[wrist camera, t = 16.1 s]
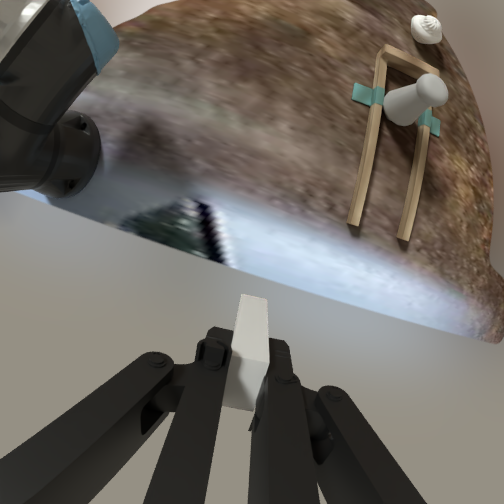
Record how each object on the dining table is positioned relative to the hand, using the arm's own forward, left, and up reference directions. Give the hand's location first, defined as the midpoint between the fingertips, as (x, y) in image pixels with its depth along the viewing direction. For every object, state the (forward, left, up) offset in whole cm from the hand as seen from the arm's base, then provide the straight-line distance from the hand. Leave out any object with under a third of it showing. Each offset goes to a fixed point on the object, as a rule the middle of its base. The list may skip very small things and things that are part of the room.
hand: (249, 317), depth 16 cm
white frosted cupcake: (+20, +44, -25) cm, 54 cm away
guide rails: (+17, +20, -24) cm, 36 cm away
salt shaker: (+16, +25, -25) cm, 39 cm away
